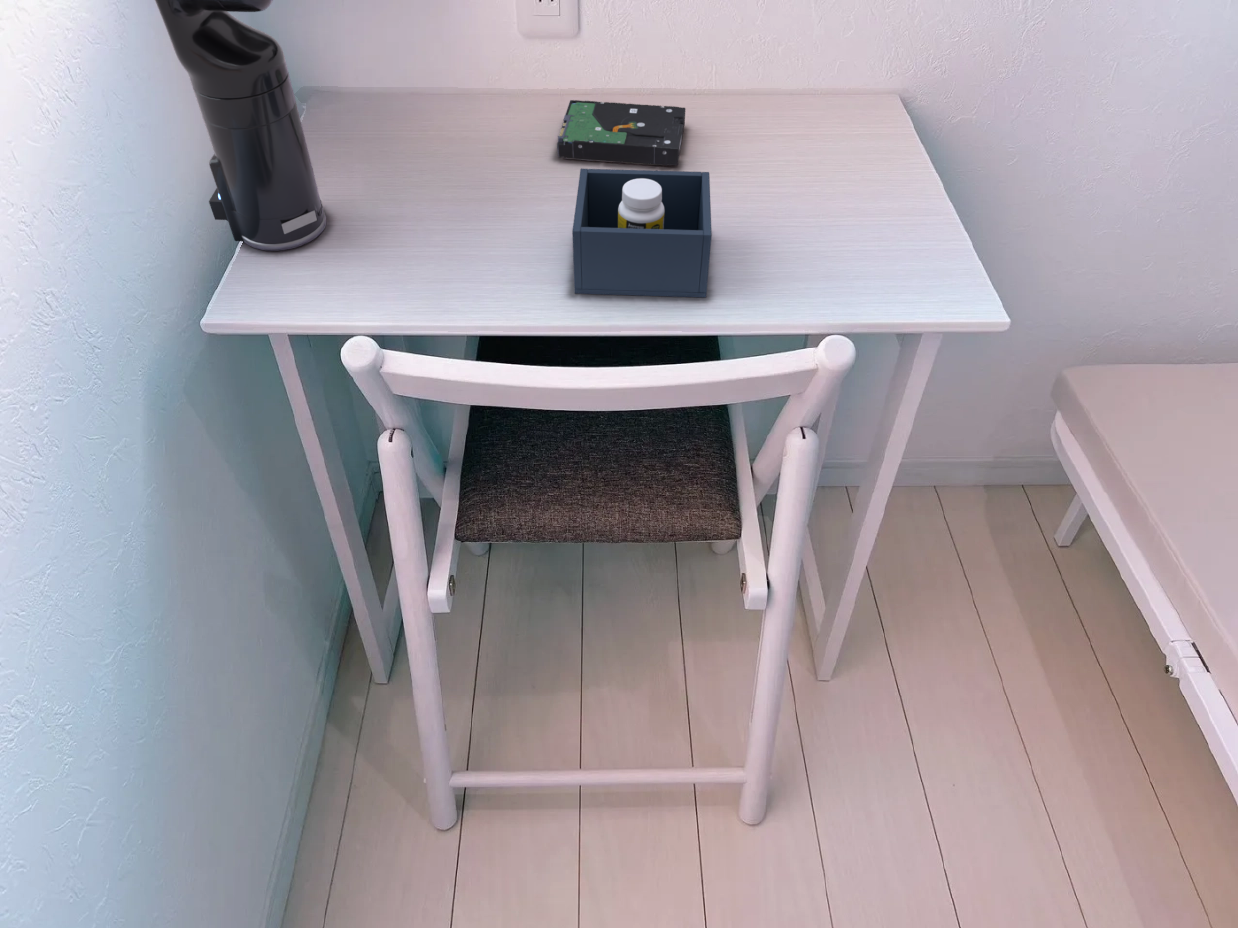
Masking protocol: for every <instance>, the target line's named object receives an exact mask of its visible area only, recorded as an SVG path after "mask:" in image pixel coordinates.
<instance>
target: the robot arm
mask: <svg viewBox="0 0 1238 928" xmlns="http://www.w3.org/2000/svg"><path fill="white" fill-rule="evenodd" d="M154 2H155V4H156V7H157V9H158V11H159V14H160V16H161V19H162V22H163V24H164V27H165V29H166V32H167V35H168V37H169V40H170V43H171V45H172V48H173V51H174V54H175V56H176V58H177V60H178V62H179V63H180V65H181V66H182V68H183V69H184V71H185V72H186V73H187V76H188V78H189V81H190V84H191V87H192V90H193V93H194V97H195V99H196V102H197V105H198V108H199V112H200V114H201V117H202V121H203V123H204V127H205V129H206V132H207V136H208V139H209V142H210V145H211V148H212V151H213V154H212V156H211V158H210V160H209V161H208V163H209V164H208V165H209V169H210V171H211V172H210V173H211V174H212V178H213V181H214V183H215V186H216V188H215V190H214V191H213V193H212V195H211V197H210V198H209V200H208V204H209V206H210V210H211V212H212V215H213V217H214V220H215V221H227V223H228V225H229V228H230V231H231V234H232V237H233V240H234V241H235V242H243V243H244V244H246V245H247V246H250V247H252V248H254V249H256V250H262V251H271V252H272V251H285V250H291V249H295V248H299V247H301V246H304V245H306V244H308V243H310V242H312V241H313V240H315V239H317V237H319V236H320V235H322V233H323V232H324V230H325V228H326V225H327V217H326V213H325V210H324V208H323V202H322V199H321V197H320V192H319V188H318V185H317V180H316V177H315V172H314V168H313V165H312V160H311V157H310V152H309V149H308V144H307V141H306V136H305V131H304V129H303V124H302V120H301V117H300V112H299V108H298V104H297V100H296V97H295V91H294V88H293V85H292V80H291V76H290V72H289V68H288V64H287V60H286V56H285V53H284V50H283V48H282V46H281V44H280V43H279V41H278V40H277V39H276V38H274V37H273V36H272V35H270V34H268V33H267V32H265V31H262V30H260V29H258V28H255V27H254V26H252V25H249V24H247V23H245V22H244V21H241V20H240V19H238V18H237V17H235V16H234V15H232V14H231V13H234V12H235V13H258V12H264V11H266V10H267V9H268V8H270V6H271V5H272V3H273V2H274V0H154ZM229 12H231V13H229Z"/></svg>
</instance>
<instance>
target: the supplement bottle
mask: <svg viewBox="0 0 1238 928" xmlns="http://www.w3.org/2000/svg"><path fill="white" fill-rule="evenodd" d="M661 201H662V188H661V186H660V185H659V184H658V183H657V182H655V181H653V180H650V179H644V178H640V179H633V180H630V181H628V182H627V183H625V184H624V186H623V189H622V201H621V203H620V204H619V208H618V228H635V229H664V212H665V210H664V205H663V203H662V202H661Z"/></svg>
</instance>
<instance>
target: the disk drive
mask: <svg viewBox="0 0 1238 928" xmlns="http://www.w3.org/2000/svg"><path fill="white" fill-rule="evenodd" d="M685 123H686V107H679V106H673V105H655V104H653V105H652V104H640V103H639V104H638V103H637V104H636V103H625V102H623V103H622V102H612V101H611V102H609V101H597V100H579V99H570V100H569V103H568V105H567V108H566V111H565V114H564V116H563V123H562V125H561V128H560V131H559V134H558V135H557V143H556V151H557V152H556V153H557V157H558V158H563V159H568V160H580V161H581V160H582V161H596V162H611V163H612V162H613V163H625V164H635V165H636V164H637V165H649V166H650V165H651V166H678V165H679V160H680V154H681V148H682V144H683V137H684V130H685Z"/></svg>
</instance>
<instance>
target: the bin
mask: <svg viewBox="0 0 1238 928" xmlns="http://www.w3.org/2000/svg"><path fill="white" fill-rule="evenodd" d="M640 178H644V179H650V180H653V181H655V182H657V183H658V184H659V185H660V186H661V188H662V201H661V202H662V203H663V205H664V210H665V212H664V229H635V228H618V208H619V204H620V203H621V201H622V189H623V186H624V184H625V183H627V182H628V181H630V180H633V179H640ZM577 185H578V186H577V193H576V199H575V200H576V201H575V209H574V215H573V223H572V258H573V259H572V261H573V263H572V264H573V288H574V289H573V290H574V294H575V295H577V294H578V295H579V294H581V295H607V296H608V295H609V296H610V295H613V296H644V297H645V296H646V297H675V298H676V297H677V298H707V294H708V293H707V292H708V281H709V273H710V272H709V270H710V260H711V259H710V258H711V248H712V238H713V237H712V235H713V232H712V209H711V205H712V204H711V181H710V172H709V171H687V170H686V171H684V170H683V171H682V170H649V169H646V170H645V169H611V168H610V169H609V168H580V169H579V178H578V184H577Z"/></svg>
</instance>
